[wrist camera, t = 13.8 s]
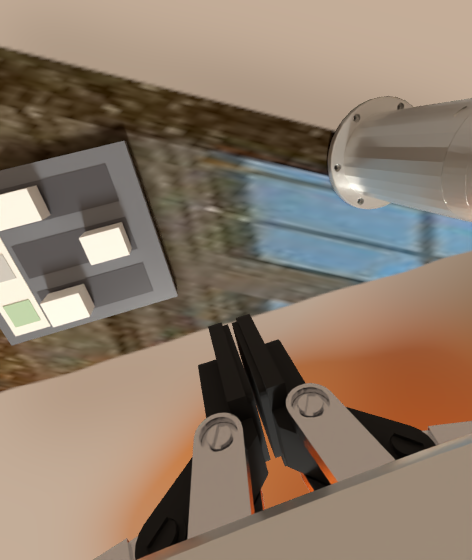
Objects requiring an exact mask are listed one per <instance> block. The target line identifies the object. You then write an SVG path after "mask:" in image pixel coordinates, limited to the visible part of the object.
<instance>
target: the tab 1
mask: <svg viewBox="0 0 472 560" xmlns="http://www.w3.org/2000/svg"><path fill="white" fill-rule="evenodd" d="M48 216H50V213H49V211H48V208H47V206H46V204H45V202H44V200H43V198H42V196H41V194H40V192H39V190H38V188H37V186H32V187H28V188H24V189H19V190H15V191H11V192H7V193H3V194H0V231H3V230H6V229H10V228H14V227H18V226H22V225H26V224H29V223H33V222H37V221H41V220H43V219H45V218H47V217H48Z"/></svg>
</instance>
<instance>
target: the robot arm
mask: <svg viewBox="0 0 472 560" xmlns="http://www.w3.org/2000/svg"><path fill="white" fill-rule="evenodd" d="M353 117H354V120H353ZM334 166H335V169H334ZM328 174H329V178H330V182H331V184H332V186H333V189H334V190H335V192H336V193H337V195H338V196H339V197H340V198H341V199H342V200H343V201H345V202H346V203H348V204H350V205H352V206H354V207H357V208H362V209H376V208H380V207H383V206H386V205H388V204H390V203H395V204H399V205H403V206H407V207H411V208H415V209H419V210H424V211H428V212H432V213H436V214H440V215H444V216H448V217H452V218H456V219H460V220H464V221H469V222H472V98H470V99H464V100H458V101H451V102H444V103H438V104H432V105H425V106H419V107H413V106H412V105H410V104H409V103H408V102H406V101H405V100H402V99H400V98H397V97H390V96H386V97H379V98H375V99H371V100H368V101H366V102H364V103H362V104H360V105H358V106H357V107H356V108H354V109H353V110H352V111H350V113H349V114H348V115H347V116H346V117H345V118H344V119H343V120H342V122H341V124H340V125H339V127H338V128H337V130H336V132H335V134H334V136H333V138H332V141H331V145H330V148H329V153H328ZM236 321H237V322H234V323H232V326H233V330H234V333H235V337H236V341H237V344H238V348H239V352H240V355H241V359H242V362H241V359H240V357H239V354H238V351H237V349H236V346H235V343H234V340H233V337H232V335H231V332H230V329H229V327H228V324H227V325H224V326H222V323H218V324H215V325H212V326H209V327H208V328H209V332H210V336H211V340H212V344H213V348H214V351H215V356H216V360H213V361H210V362H207V363H204V364H200V365H198V369H199V375H200V382H201V388H202V394H203V400H204V407H205V413H206V419H205V420H204V421H203V422H202V423H201V424H200V425H199V426H198V428H197V430H196V432H195V436H194V445H193V457H192V458H191V460H190V461H189V463H188V464H187V465H186V467H185V468H184V470H183V471H182V472H181V474H180V475H179V477H178V478H177V479H176V481H175V482H174V484H173V485H172V486H171V488H170V489H169V490H168V492H167V493H166V495H165V496H164V498H163V499H162V500H161V502H160V503H159V504H158V506H157V507H156V509H155V510H154V511H153V513H152V514H151V516H150V517H149V518H148V520H147V521H146V523H145V524H144V526H143V527H142V529H141V531H140V533H139V535H138V537H136V538H134V539H133V540H131V541H130V542H129V541H128V539H127V538H126V539H125V540H123V541H122V542H120V543H119V544H117V545H116V546H114V547H112V548H111V549H109V550H108V551H106V552H105V553H103V554H101V555H100V556H98V557H97V558H95V559H94V560H472V421H469V422H461V423H452V424H444V425H435V426H428V430H427V431H421V430H419V429H417V428H414V427H412V426H409V425H405V424H402V423H399V422H396V421H392V420H389V419H385V418H382V417H378V416H375V415H372V414H368V413H365V412H361V411H358V410H355V409H351V408H348V407H345V406H344V405H343V404H342V403H341V402H340V401H339V400H338V399H337V398H336V397H335V396H334V395H333V394H332V392H331V391H329V390H328V389H327V388H326V387H324V386H321V385H319V384H312V383H309V384H306V383H305V382H304V380H303V378H302V377H301V375H300V373H299V372H298V370H297V369H296V367H295V365H294V363H293V362H292V360H291V358H290V357H289V355H288V354H287V352H286V350H285V349H284V347H283V345H282V344H281V342H280V341H279V340H275V341H272V342H269V343H266V344H265V343H264V341H263V340H262V338H261V336H260V334H259V332H258V330H257V328H256V326H255V324H254V322H253V320H252V318H251V316H250V314H247V315H244V316H241V317H238V318H236ZM242 363H243V365H242ZM243 367H244V368H243ZM256 406H257V407H256ZM257 409H258V411H257ZM258 412H259V414H260V417H261V420H262V422H263V425H264V428H265V430H266V434H267V436H268V439H269V442H270V445H271V448H272V450H273V453H274V456H275V457H276V458H277V457H280V456H281V457H282V460H283V462H284V465H285V466H288V467H290V468H292V469H295V470H297V471H299V472H300V474H301V477H302V479H303V481H304V483H305V484H306V486H307V488H308V489H309V491H310V493H308V494H305V495H302V496H300V497H297V498H294V499H292V500H289V501H287V502H284V503H281V504H279V505H276V506H274V507H271V508H268V509H265V506H264V500H263V493H262V490H261V487H262V485H263V483H264V481H265V479H266V477H267V475H268V470H267V467H266V463H265V462H266V461H269V460H270V456H269V452H268V448H267V445H266V441H265V437H264V433H263V430H262V426H261V422H260V418H259V415H258Z"/></svg>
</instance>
